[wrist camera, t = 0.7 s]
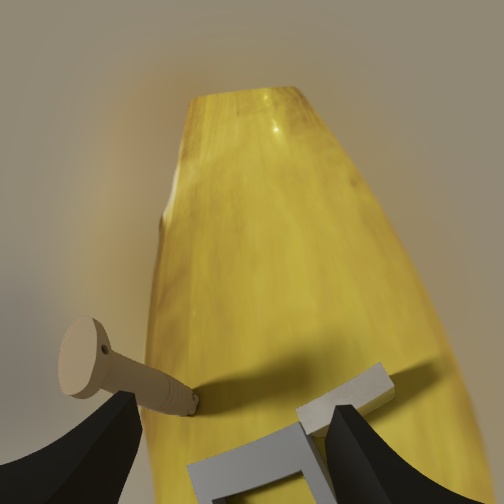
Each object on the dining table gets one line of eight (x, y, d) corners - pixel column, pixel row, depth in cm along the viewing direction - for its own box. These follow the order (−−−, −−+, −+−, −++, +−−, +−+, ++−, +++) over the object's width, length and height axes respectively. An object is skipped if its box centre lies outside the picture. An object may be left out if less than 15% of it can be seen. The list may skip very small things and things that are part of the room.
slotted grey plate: (357, 530, 17) (354, 538, 15) (238, 564, 17) (225, 571, 16) (306, 424, 25) (298, 421, 23) (200, 466, 25) (186, 465, 24)
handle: (202, 370, 32) (98, 307, 21) (212, 425, 28) (95, 387, 17) (167, 382, 33) (62, 327, 22) (174, 435, 29) (56, 399, 18)
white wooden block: (394, 397, 23) (394, 386, 19) (323, 438, 23) (306, 434, 19) (382, 377, 24) (380, 361, 20) (313, 417, 25) (295, 409, 21)
